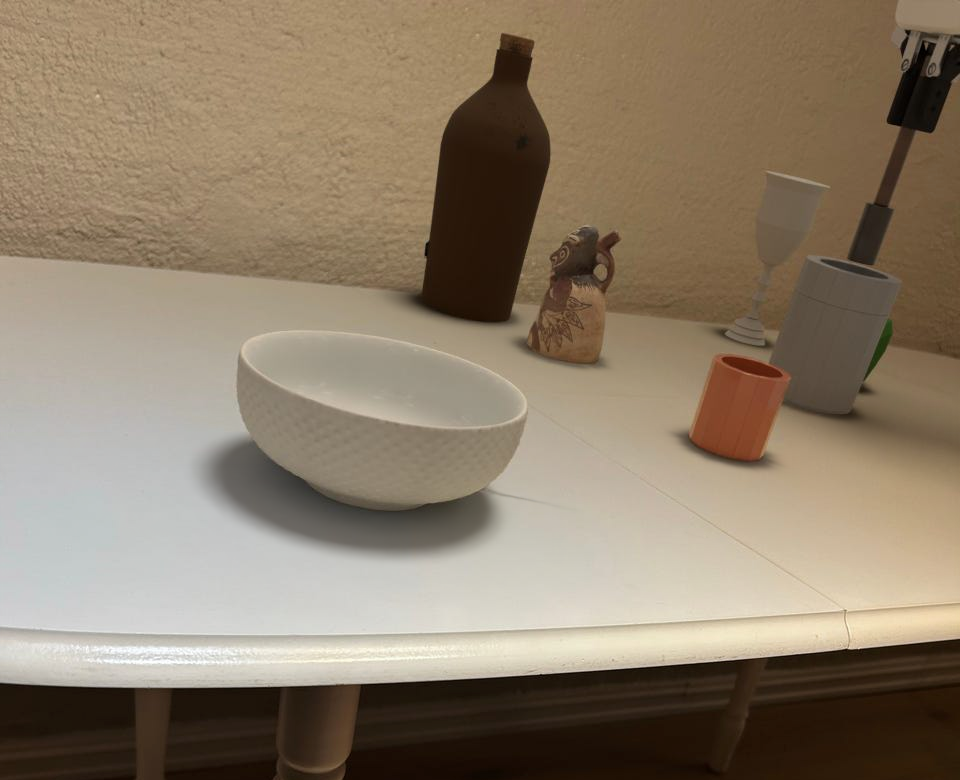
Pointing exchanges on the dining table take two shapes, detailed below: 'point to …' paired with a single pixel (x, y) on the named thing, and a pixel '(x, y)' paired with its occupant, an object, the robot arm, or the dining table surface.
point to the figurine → (575, 298)
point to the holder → (738, 407)
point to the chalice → (778, 239)
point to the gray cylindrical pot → (832, 331)
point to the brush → (882, 199)
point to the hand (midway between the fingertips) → (909, 127)
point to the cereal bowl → (377, 417)
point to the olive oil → (487, 193)
